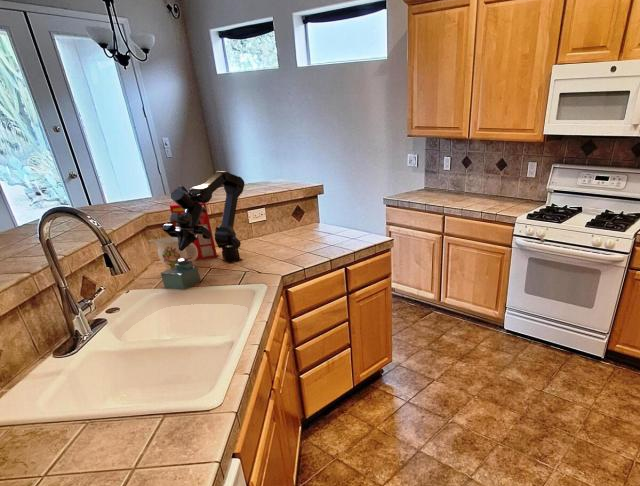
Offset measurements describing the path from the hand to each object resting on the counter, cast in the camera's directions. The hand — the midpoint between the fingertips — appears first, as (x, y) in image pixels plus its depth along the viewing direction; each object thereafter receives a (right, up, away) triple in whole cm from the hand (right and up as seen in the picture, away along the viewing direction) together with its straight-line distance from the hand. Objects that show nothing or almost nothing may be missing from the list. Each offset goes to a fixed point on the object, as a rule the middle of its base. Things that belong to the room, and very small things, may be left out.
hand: (180, 250), depth 168 cm
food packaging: (-10, +4, +37) cm, 39 cm away
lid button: (0, -5, +3) cm, 5 cm away
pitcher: (-11, -4, +22) cm, 25 cm away
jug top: (-1, -13, +3) cm, 13 cm away
